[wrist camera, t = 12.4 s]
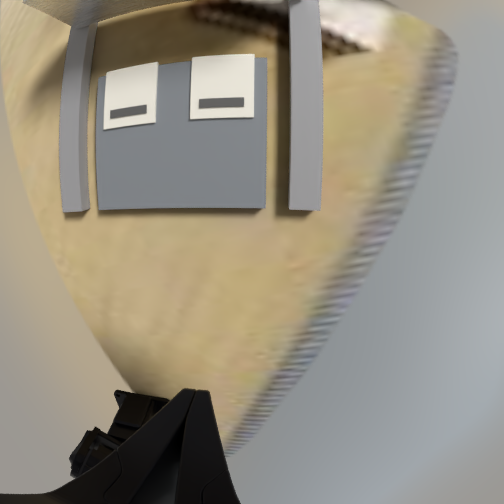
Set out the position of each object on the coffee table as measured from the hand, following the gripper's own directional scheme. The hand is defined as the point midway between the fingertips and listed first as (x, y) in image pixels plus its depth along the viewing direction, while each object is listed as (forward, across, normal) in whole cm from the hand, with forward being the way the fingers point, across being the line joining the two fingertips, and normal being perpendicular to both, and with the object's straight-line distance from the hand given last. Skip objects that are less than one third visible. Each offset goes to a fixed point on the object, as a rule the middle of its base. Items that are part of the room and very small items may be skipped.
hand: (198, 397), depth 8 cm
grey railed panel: (+13, +4, -12) cm, 18 cm away
